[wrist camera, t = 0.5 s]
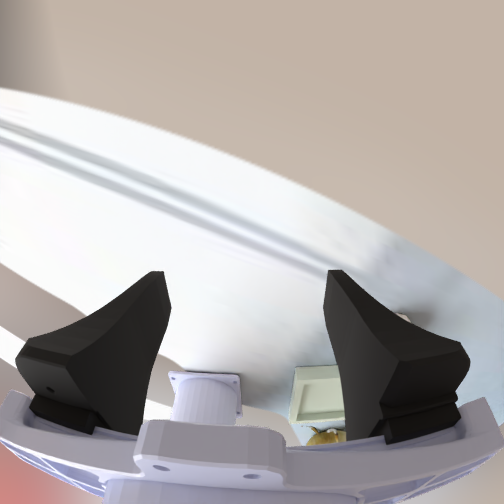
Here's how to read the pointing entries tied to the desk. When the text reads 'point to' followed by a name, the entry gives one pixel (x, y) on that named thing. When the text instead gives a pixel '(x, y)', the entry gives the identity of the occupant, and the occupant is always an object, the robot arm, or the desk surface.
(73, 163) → the desk surface
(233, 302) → the desk surface
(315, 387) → the tray
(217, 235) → the desk surface
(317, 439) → the decorative bird model
